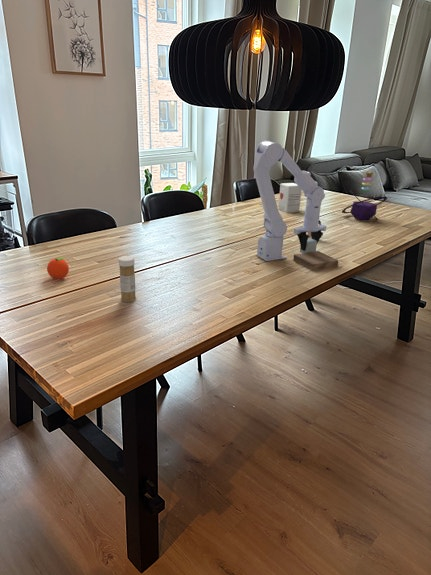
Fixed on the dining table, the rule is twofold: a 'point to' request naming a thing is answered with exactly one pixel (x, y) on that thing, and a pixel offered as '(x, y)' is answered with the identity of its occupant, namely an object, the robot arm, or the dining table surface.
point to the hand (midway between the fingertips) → (308, 249)
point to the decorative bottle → (364, 203)
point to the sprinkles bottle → (127, 278)
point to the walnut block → (315, 260)
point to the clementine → (58, 268)
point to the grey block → (310, 246)
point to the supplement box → (289, 197)
